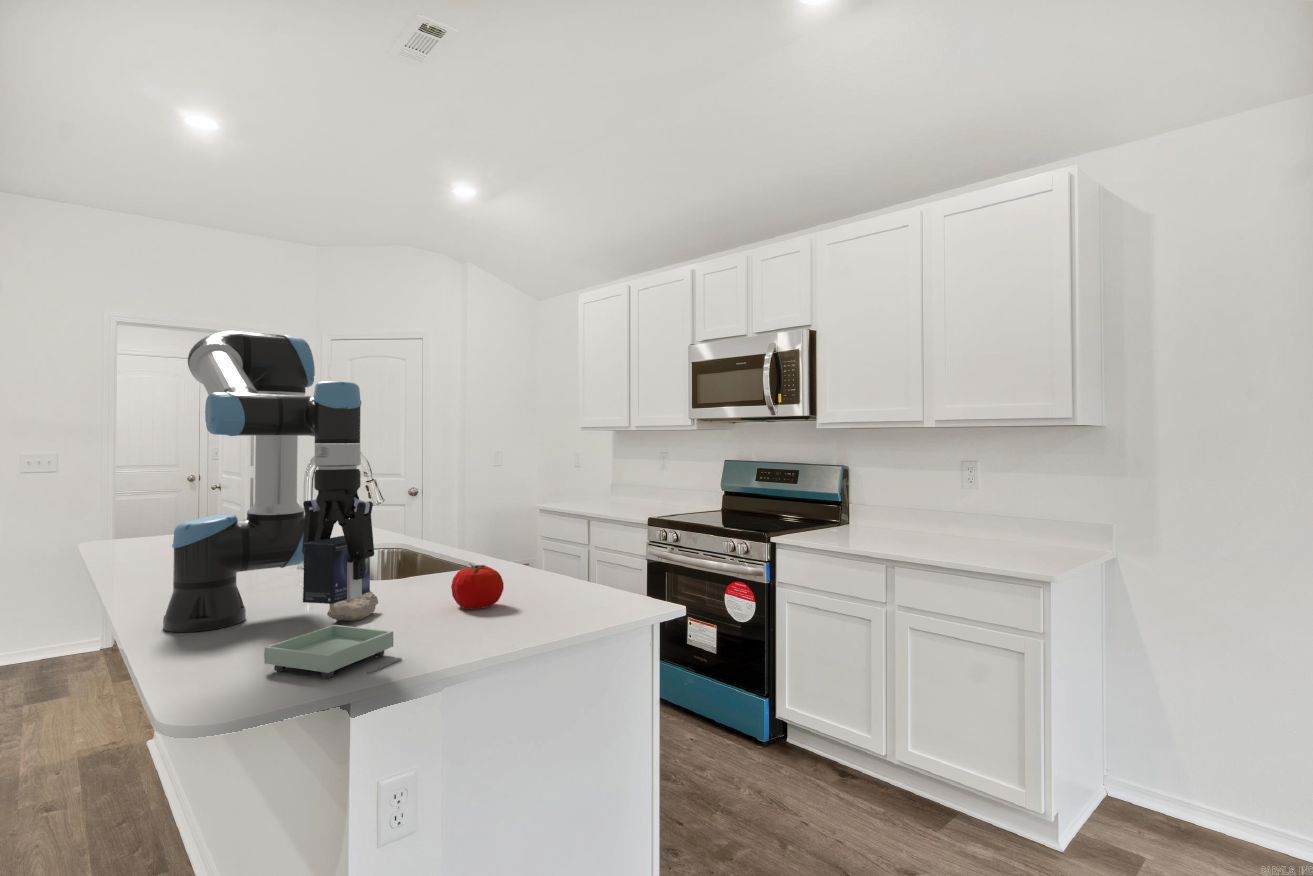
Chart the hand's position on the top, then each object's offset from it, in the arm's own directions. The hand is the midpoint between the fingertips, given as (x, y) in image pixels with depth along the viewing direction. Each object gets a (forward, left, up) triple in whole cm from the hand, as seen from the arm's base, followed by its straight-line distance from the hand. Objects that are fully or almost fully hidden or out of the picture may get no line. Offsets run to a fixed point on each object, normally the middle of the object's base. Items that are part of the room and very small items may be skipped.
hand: (337, 596), depth 122 cm
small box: (0, 0, -1) cm, 1 cm away
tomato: (-1, +44, -13) cm, 46 cm away
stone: (-22, +26, -13) cm, 36 cm away
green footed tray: (-1, 0, -12) cm, 12 cm away
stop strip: (+9, +2, -12) cm, 15 cm away
